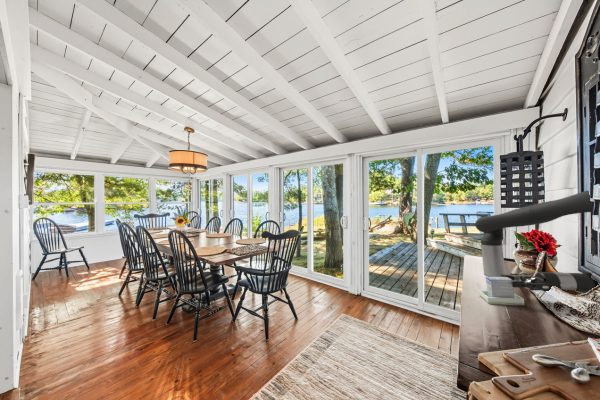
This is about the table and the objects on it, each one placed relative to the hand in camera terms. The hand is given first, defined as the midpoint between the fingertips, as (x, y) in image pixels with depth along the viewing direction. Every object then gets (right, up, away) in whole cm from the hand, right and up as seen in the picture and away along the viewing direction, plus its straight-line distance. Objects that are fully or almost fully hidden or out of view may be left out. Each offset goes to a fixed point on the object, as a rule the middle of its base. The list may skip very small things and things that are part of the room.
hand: (506, 281), depth 98 cm
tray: (-2, -8, 0) cm, 9 cm away
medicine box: (-2, -8, 0) cm, 8 cm away
